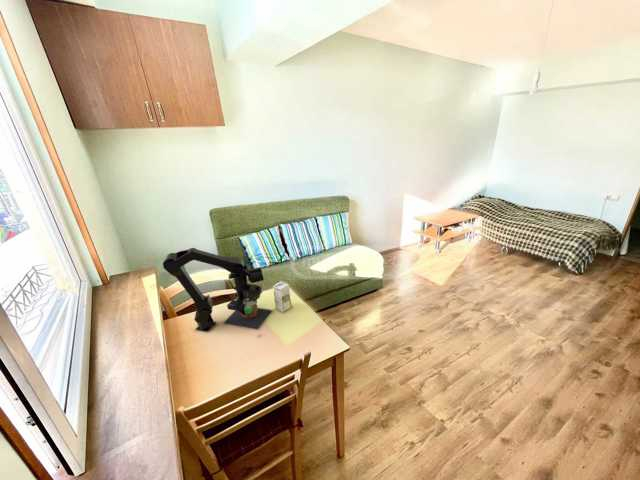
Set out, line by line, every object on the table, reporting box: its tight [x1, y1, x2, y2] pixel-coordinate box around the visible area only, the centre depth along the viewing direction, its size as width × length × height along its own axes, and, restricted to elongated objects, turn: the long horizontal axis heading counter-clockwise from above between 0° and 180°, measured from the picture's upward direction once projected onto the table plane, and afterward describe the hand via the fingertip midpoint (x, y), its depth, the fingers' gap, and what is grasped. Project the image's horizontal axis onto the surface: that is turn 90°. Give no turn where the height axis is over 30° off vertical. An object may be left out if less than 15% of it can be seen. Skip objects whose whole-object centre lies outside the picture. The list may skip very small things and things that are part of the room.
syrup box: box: [272, 281, 292, 313], centre depth 143 cm, size 6×6×14 cm
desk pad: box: [223, 307, 272, 330], centre depth 139 cm, size 18×14×1 cm
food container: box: [235, 297, 258, 319], centre depth 137 cm, size 12×6×10 cm, turn 60°
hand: (247, 310), depth 138 cm, fingers closed on food container, 6 cm apart
